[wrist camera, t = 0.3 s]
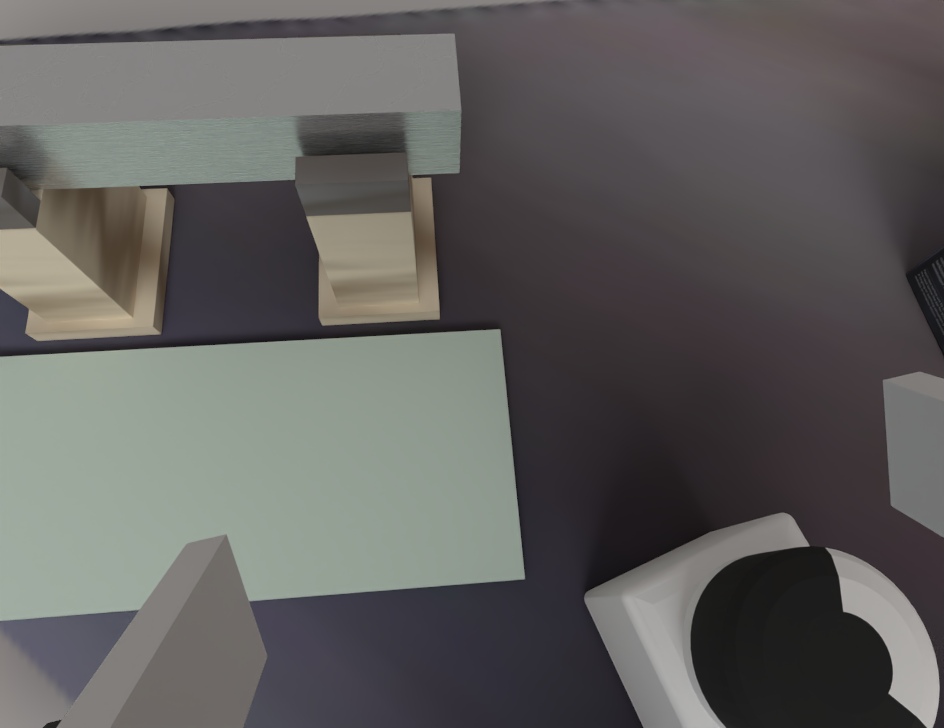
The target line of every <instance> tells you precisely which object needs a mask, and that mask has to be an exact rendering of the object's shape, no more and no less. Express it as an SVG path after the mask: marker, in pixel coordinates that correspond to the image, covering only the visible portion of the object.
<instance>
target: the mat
mask: <svg viewBox="0 0 944 728" xmlns="http://www.w3.org/2000/svg"><path fill="white" fill-rule="evenodd" d="M225 534H227V537H228V540H229V543H230V546H231V549H232V552H233V555H234V558H235V561H236V564H237V567H238V570H239V573H240V576H241V579H242V582H243V585H244V588H245V591H246V594H247V597H248V600H249V601H258V600H271V599H283V598H296V597H308V596H321V595H334V594H346V593H359V592H371V591H384V590H397V589H409V588H422V587H434V586H447V585H460V584H472V583H485V582H497V581H510V580H523V579H525V574H524V563H523V553H522V543H521V533H520V523H519V513H518V503H517V493H516V483H515V473H514V463H513V453H512V442H511V432H510V422H509V412H508V402H507V392H506V382H505V372H504V362H503V352H502V342H501V332H500V329H495V330H477V331H459V332H441V333H423V334H405V335H386V336H368V337H350V338H332V339H314V340H296V341H278V342H260V343H242V344H224V345H206V346H188V347H169V348H151V349H133V350H115V351H97V352H79V353H61V354H43V355H25V356H7V357H0V621H6V620H19V619H31V618H44V617H56V616H69V615H82V614H94V613H107V612H119V611H132V610H140V609H141V607H142V606H143V605H144V603H145V602H146V600H147V599H148V597H149V596H150V595H151V593H152V592H153V590H154V589H155V588H156V586H157V585H158V583H159V582H160V580H161V579H162V578H163V576H164V575H165V573H166V572H167V571H168V569H169V568H170V566H171V565H172V564H173V562H174V561H175V559H176V558H177V556H178V555H179V554H180V552H181V551H182V549H183V548H184V547H185V545H186V544H187V543H191V542H195V541H199V540H203V539H208V538H212V537H216V536H220V535H225Z"/></svg>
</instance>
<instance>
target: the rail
mask: <svg viewBox="0 0 944 728" xmlns="http://www.w3.org/2000/svg"><path fill="white" fill-rule="evenodd" d="M460 138H461V100H460V89H459V77H458V66H457V55H456V43H455V34H420V35H383V36H346V37H309V38H272V39H235V40H198V41H161V42H123V43H86V44H49V45H12V46H0V168H8V169H9V170H10V171H11V172H12V173H13V174H14V175H15V176H16V177H17V178H18V179H19V180H20V181H21V182H22V183H23V184H24V185H25V186H26V187H27V188H28V189H29V190H51V189H76V188H101V187H126V186H150V185H175V184H200V183H225V182H250V181H275V180H295V159H296V157H299V156H326V155H352V154H378V153H404V152H407V161H408V173H409V175H424V174H449V173H459V171H460Z"/></svg>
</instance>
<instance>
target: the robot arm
mask: <svg viewBox="0 0 944 728" xmlns="http://www.w3.org/2000/svg"><path fill="white" fill-rule="evenodd" d="M883 389H884V405H885V420H886V436H887V451H888V467H889V482H890V497H891V506H892V507H894V508H896V509H897V510H899V511H901V512H902V513H904V514H906V515H907V516H909V517H910V518H912V519H914V520H915V521H917V522H919V523H920V524H922V525H924V526H925V527H927V528H929V529H930V530H932V531H934V532H935V533H937V534H939V535H940V536H942V537H944V379H943V378H939V377H936V376H933V375H929V374H926V373H923V372H916V373H912V374H907V375H903V376H899V377H894V378H890V379H886V380H883ZM266 659H267V654H266V651H265V648H264V645H263V642H262V639H261V636H260V633H259V630H258V627H257V624H256V621H255V618H254V615H253V612H252V609H251V606H250V603H249V600H248V597H247V594H246V591H245V588H244V585H243V582H242V579H241V576H240V573H239V570H238V567H237V564H236V561H235V558H234V555H233V552H232V549H231V546H230V543H229V540H228V537H227V534H225V535H220V536H216V537H212V538H208V539H203V540H199V541H195V542H191V543H187V544H186V545H185V547H184V548H183V549H182V551H181V552H180V554H179V555H178V556H177V558H176V559H175V561H174V562H173V564H172V565H171V566H170V568H169V569H168V571H167V572H166V573H165V575H164V576H163V578H162V579H161V580H160V582H159V583H158V585H157V586H156V588H155V589H154V590H153V592H152V593H151V595H150V596H149V597H148V599H147V600H146V602H145V603H144V605H143V606H142V607H141V609H140V610H139V612H138V613H137V614H136V616H135V617H134V619H133V620H132V621H131V623H130V624H129V626H128V627H127V629H126V630H125V631H124V633H123V634H122V636H121V637H120V638H119V640H118V641H117V643H116V644H115V646H114V647H113V648H112V650H111V651H110V653H109V654H108V655H107V657H106V658H105V660H104V661H103V662H102V664H101V665H100V667H99V668H98V670H97V671H96V672H95V674H94V675H93V677H92V678H91V679H90V681H89V682H88V684H87V685H86V687H85V688H84V689H83V691H82V692H81V694H80V695H79V696H78V698H77V699H76V701H75V702H74V703H73V705H72V706H71V708H70V709H69V711H68V712H67V713H66V715H65V716H64V718H63V719H62V720H59V721H55V722H50V723H48V724H46V725H45V726H44V727H43V728H243V727H244V724H245V721H246V718H247V715H248V712H249V709H250V706H251V703H252V700H253V697H254V694H255V691H256V688H257V686H258V683H259V680H260V677H261V674H262V671H263V668H264V665H265V662H266Z"/></svg>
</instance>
